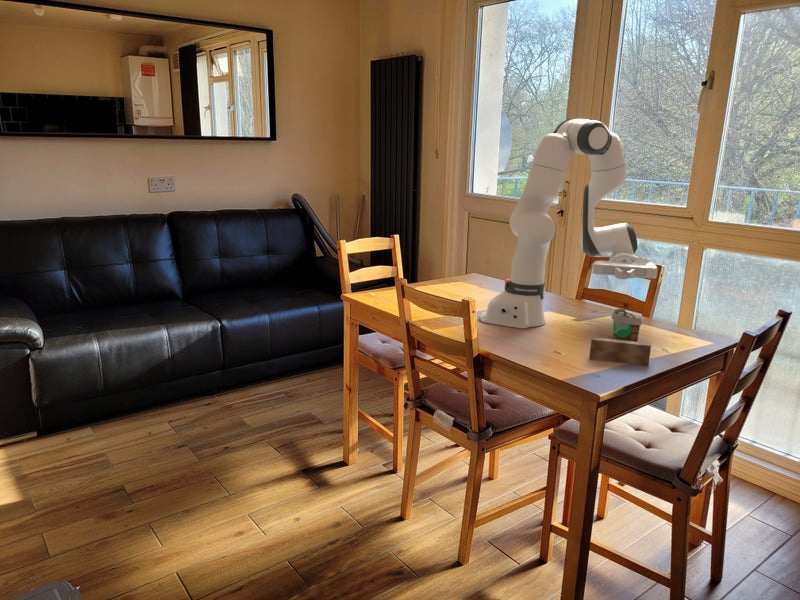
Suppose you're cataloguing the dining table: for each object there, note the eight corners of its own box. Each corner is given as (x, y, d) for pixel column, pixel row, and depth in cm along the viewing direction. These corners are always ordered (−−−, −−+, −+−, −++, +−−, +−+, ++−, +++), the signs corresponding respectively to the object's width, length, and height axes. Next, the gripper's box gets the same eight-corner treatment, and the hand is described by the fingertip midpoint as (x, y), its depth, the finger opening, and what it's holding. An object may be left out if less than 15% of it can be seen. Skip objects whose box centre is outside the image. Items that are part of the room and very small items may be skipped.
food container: (602, 337, 194) (605, 307, 192) (621, 337, 195) (624, 307, 192) (618, 350, 182) (622, 318, 180) (638, 350, 183) (642, 318, 180)
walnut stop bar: (589, 359, 174) (591, 339, 173) (589, 356, 177) (591, 337, 175) (648, 366, 170) (651, 345, 168) (647, 363, 172) (650, 343, 171)
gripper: (592, 254, 208) (592, 262, 196) (655, 259, 203) (660, 266, 190) (590, 272, 210) (590, 281, 197) (653, 277, 204) (657, 286, 191)
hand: (625, 274), depth 194 cm, fingers closed
